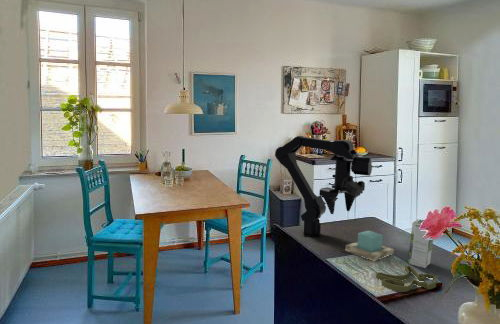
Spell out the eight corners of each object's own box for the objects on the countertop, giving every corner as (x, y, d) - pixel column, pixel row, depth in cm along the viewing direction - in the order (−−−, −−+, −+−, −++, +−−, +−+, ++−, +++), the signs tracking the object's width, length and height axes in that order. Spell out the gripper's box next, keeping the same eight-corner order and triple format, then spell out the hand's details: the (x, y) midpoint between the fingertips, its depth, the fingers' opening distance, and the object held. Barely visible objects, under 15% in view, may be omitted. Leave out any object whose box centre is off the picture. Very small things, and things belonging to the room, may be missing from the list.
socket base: (372, 261, 126) (373, 254, 126) (342, 249, 137) (342, 242, 136) (395, 254, 134) (396, 247, 133) (365, 243, 144) (366, 236, 144)
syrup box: (412, 259, 129) (416, 218, 127) (431, 263, 126) (435, 221, 124) (407, 263, 125) (411, 221, 123) (426, 269, 121) (430, 225, 119)
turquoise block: (370, 257, 130) (372, 237, 129) (356, 251, 135) (358, 233, 134) (381, 254, 133) (382, 235, 133) (367, 248, 138) (368, 230, 137)
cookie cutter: (412, 270, 121) (412, 264, 120) (445, 286, 110) (446, 280, 110) (369, 280, 113) (369, 273, 113) (401, 298, 102) (401, 291, 102)
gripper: (342, 178, 132) (339, 221, 134) (375, 174, 142) (372, 214, 144) (319, 173, 141) (317, 213, 143) (352, 170, 151) (349, 207, 153)
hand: (340, 212), depth 146 cm, fingers open, 9 cm apart
